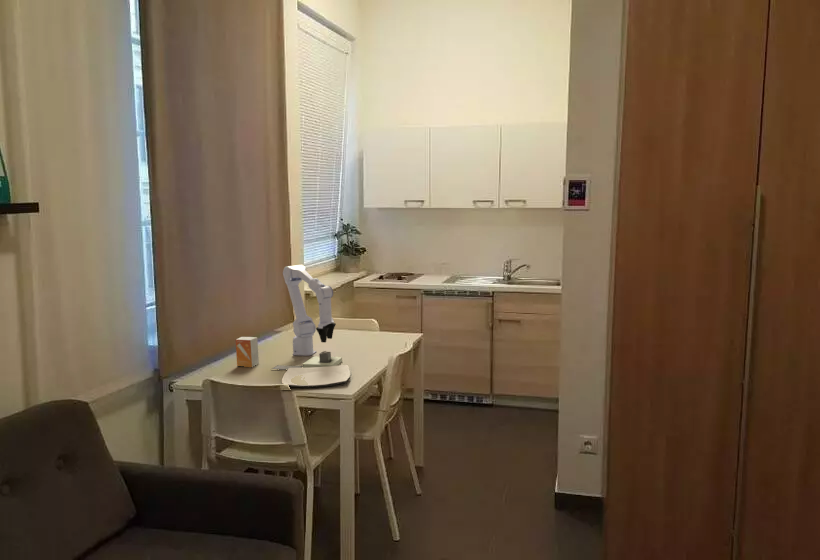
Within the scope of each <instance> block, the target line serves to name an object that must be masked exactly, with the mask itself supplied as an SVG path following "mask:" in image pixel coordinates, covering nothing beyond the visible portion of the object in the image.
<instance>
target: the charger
mask: <svg viewBox="0 0 820 560" xmlns="http://www.w3.org/2000/svg"><path fill="white" fill-rule="evenodd" d="M318 354H319V355H318V357H320V363H330V362H331V357H332V352H331V351H327V350H323V351H322V352H320V353H318Z"/></svg>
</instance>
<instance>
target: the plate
mask: <svg viewBox="0 0 820 560" xmlns="http://www.w3.org/2000/svg"><path fill="white" fill-rule="evenodd" d="M298 375H299V376H300V375H303V376H301V377H302V378H301V380H303V378H304V377H305V379H304V380H305V381H306V382H307V383H308V385H297V384H294V383H292V382H291V379H292V378H294V377H295V376H298ZM350 377H351V371H350V367H349V365H348V364H338V365H337V366H328V367H310V368H288V370H287V371H285V373H284V374H283V376H282V379H281V384H282V383H284V384H288V385H289V386H291V387H290V388H320V387H321V388H322V387H329V386H335V385H341V384H346V382H348V381H349V380H350Z"/></svg>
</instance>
